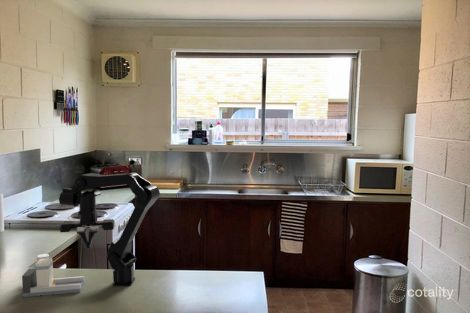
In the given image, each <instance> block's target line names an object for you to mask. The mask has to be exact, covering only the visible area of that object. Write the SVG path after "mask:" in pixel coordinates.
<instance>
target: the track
mask: <svg viewBox="0 0 470 313" xmlns="http://www.w3.org/2000/svg"><path fill="white" fill-rule="evenodd" d="M21 280H22V281H21V282H22V298H28V297H29V298H30V297H39V296H40V295H42V296H51V295H52V294H54V295H62V294H63V295H64V294H74V293H81V291H82V289H83V287H84V285H85V276H84V275H82V276H80V275H79V276H70V277H69V276H66V277H59V278H58V277H55V278H54V277H53V284H52V285H51V286H44V287H37V276H36V268H35V267H33V268H31V267H30V268H28V269H27V270H26V271H25V272H24V273H23V274H22V276H21ZM52 296H53V295H52Z"/></svg>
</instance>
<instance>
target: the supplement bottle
mask: <svg viewBox="0 0 470 313" xmlns="http://www.w3.org/2000/svg"><path fill="white" fill-rule="evenodd" d="M47 258H50V255H49V254H48V253H41V254H38V255H36V260H37V261H36V262H35V263H34V264H35V267H34V268H36V263H37V262H38V261H39V260H40V259H47Z"/></svg>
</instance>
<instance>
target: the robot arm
mask: <svg viewBox="0 0 470 313" xmlns="http://www.w3.org/2000/svg"><path fill="white" fill-rule="evenodd" d="M116 185H118V186H119V185H127V186H128V187H129V189H130V191H131V193H133V194H134V196H136V197H135V200H134V204H135V205H134V209H133V210H132V212H131V214H130V217H129V219H128V221H127V223H126V224H125V226H124V228H123V231H122V233H121V235H120V236H119V238H117V239H115V240H113V241H111V242H110V245H109V248H108V249H107V250H106V257H107V260H108V262H109V264H110V267H111V269H112V275H113V276H112V278H113V279H112V280H113V286H117V287H118V286H132V284H133V283H134V281H135V280H136V277H135V276H134V274H135V273H134V264H135V263H136V261H137V257H136V255H134V253H133V252H132V248H133V245H132V244H133V239H134V238H135V236H136V234H137V232H138V230H139V228H140V226H141V224H142V222H143V219H144V218H145V215H146V214H147V213H148V210H149V209H150V208H151V207H152V206H153V205H154V204H155V202H156V201H157V200H158V199H159V198H160V194H161V193H160V189H159V187H157V186H156V185H154V184H152V183H151V182H150V181H148V180H147V179H145V178H144V177H142V176H141V175H139V174H138V173H137V172H134V171H133V172H130V173H127V172H126V173H118V174H117V173H116V174H105V175H104V174H100V173H93V172H90V173H85V174H80V175H78V176H77V178H76V179H75V183H74V184H73V186H72V187H71V188H70V187H63V188H62V192H61V193H60V194H59V197H58V203H59V204H60V205H61V206H62V207H63V206H65V207H75V208H76V207H79V210H78V214H77V215H78V216H77V219H78V220H79V222H78V223H77V222H76V223H75V221H74V220H67V221H63V222H62V223H61V224H60V225H59V232H60V233H69V232H71V230H72V229H73V230H74V229H76V230H77V231H76V235H79V236H80V237H81V238H82V241H84V244H85V246H86V248H87V249H90V248H91V245H92V242H93V239H94V235H95V234H96V233H99V231H100V228H101V229H103V230H104V231H112V230H114V229H115V224H116V223H115V220H114V219H113V218H111V219H110V218H109V219H107V218H106V219H103V221H102V222H99V221H98V212H97V211H96V210H97V209H96V208H97V206H96V199H97V198H96V197H98V196H101V192H100V191H98V189H96V188H98V187H105V186H106V187H107V186H116ZM90 189H92V190H90ZM88 229H89V231H88Z"/></svg>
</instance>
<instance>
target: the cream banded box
mask: <svg viewBox="0 0 470 313" xmlns="http://www.w3.org/2000/svg"><path fill="white" fill-rule="evenodd" d="M37 261H38V260H37ZM37 261H36V262H37ZM36 262H35V264H36V276H37V287H44V286H51V285H52V284H53V279H54V267H53V266H54V264H53V263H54V262H53V257H49V258H47V259H40V260H39V261H38V262H37V263H36Z"/></svg>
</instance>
